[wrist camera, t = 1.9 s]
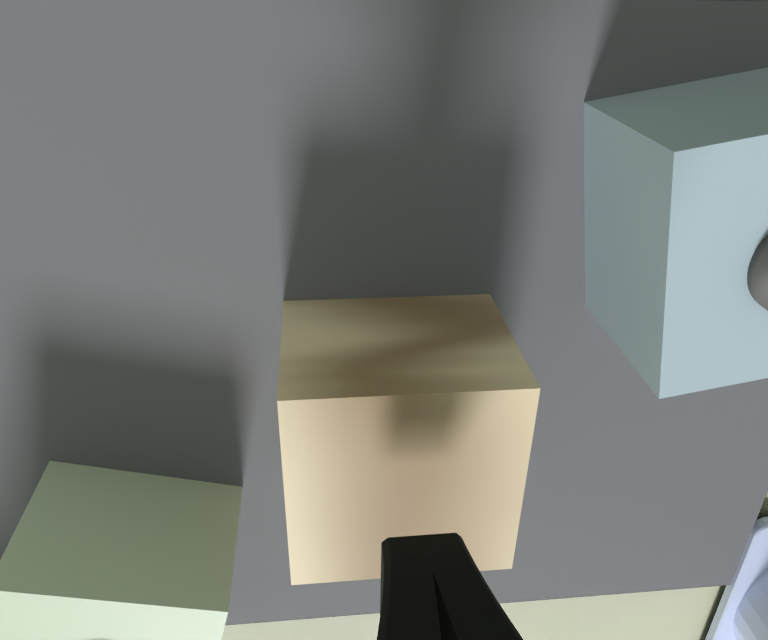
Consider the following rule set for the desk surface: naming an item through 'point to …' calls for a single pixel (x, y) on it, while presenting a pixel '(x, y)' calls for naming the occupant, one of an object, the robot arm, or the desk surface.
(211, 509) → the sage dotted block
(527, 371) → the beech block
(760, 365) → the slate dotted block
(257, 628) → the desk surface
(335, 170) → the rubber mat
